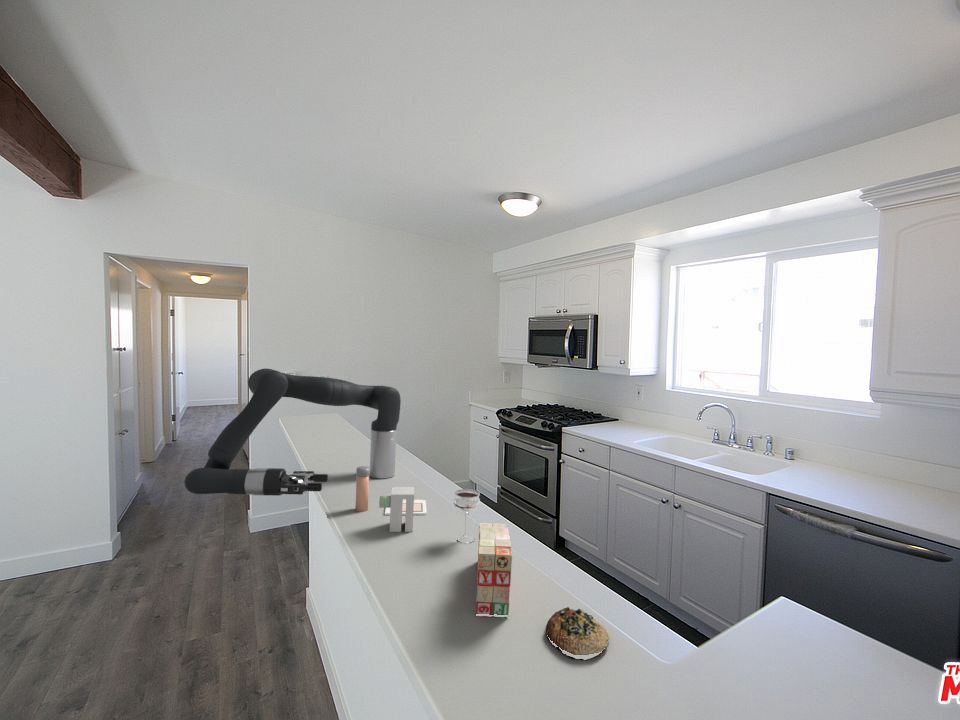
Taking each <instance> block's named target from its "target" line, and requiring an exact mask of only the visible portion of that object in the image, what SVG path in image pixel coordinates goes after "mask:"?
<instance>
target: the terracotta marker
mask: <svg viewBox="0 0 960 720" xmlns="http://www.w3.org/2000/svg"><path fill="white" fill-rule="evenodd" d="M355 470H356V471H355V472H356V478H355V479H356V480H355V481H356V482H355V483H356V485H355V506H354V507H355V510H354V511H355V512H358V513H362V512H368V510H369V494H370V493H369V492H370V491H369V490H370V488H369V487H370V486H369V485H370V466H365V465H364V466H362V465H361V466H357V467H356V469H355Z"/></svg>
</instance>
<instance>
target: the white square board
mask: <svg viewBox="0 0 960 720" xmlns="http://www.w3.org/2000/svg"><path fill="white" fill-rule="evenodd" d="M427 514H428V513H427V502H426V499H414V509H413V516H418V515H419V516H425V515H427ZM384 516H390V508H385V510H384ZM402 516H406V499H403V504H402Z"/></svg>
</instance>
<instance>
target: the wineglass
mask: <svg viewBox="0 0 960 720" xmlns="http://www.w3.org/2000/svg"><path fill="white" fill-rule="evenodd" d="M454 495H455V496H454V499H453V506H454V508H456V510H457V512H459V513H461V514H462V515H463V516H464V534H461V535H458V536H456V537H455V541H456V540H458V541H460V542H463V543H462V544H471V543H470V542H472V541H474V542H475V540H474V539H475V537H474V536H472V535H468V534H467V530H468V529H467V528H468V516H469V515H471V514H473V513H474V512H475V511H476V510H478V509H479V507H480V503H481V499H480V496H481V493H480V492H479V491H478V490H475V489H472V488H471V489H470V488H461V489H457V490H455V491H454ZM473 537H474V538H473ZM460 542H459V543H460ZM472 543H473V542H472Z"/></svg>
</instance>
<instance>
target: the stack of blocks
mask: <svg viewBox="0 0 960 720" xmlns="http://www.w3.org/2000/svg"><path fill="white" fill-rule="evenodd" d="M506 526H507V525H506V524H505V523H493V522H492V523H490V522H489V523H488V522H479V523H478V527H479V528H478V549H477V551H478V553H477V573H476V574H477V576H476V577H477V578H476V579H477V580H476V581H477V582H476V595H475V596H476V597H475V598H476V599H475V614H489V615H494V614H497V615H508V616H509V612H510V590H511V589H510V587H511V580H512V579H511V577H512V561H513V552H512V544H511V537H510V533H509V527H508V526H507V527H506Z"/></svg>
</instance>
